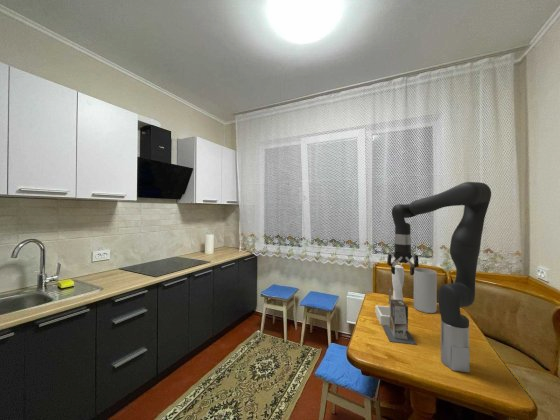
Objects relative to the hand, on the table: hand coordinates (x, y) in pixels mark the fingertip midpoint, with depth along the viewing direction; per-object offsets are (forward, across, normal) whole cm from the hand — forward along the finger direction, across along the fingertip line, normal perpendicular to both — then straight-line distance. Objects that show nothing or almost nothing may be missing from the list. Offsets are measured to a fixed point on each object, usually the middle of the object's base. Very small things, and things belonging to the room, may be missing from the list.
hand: (402, 274), depth 116 cm
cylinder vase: (+31, +24, +35) cm, 52 cm away
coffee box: (+31, -2, -1) cm, 31 cm away
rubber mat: (+31, -2, -1) cm, 31 cm away
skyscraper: (+31, +9, +40) cm, 51 cm away
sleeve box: (+31, -3, +15) cm, 34 cm away
